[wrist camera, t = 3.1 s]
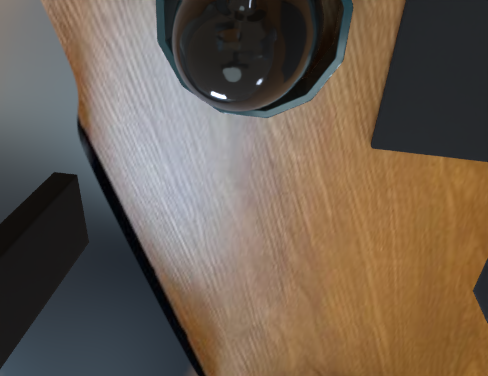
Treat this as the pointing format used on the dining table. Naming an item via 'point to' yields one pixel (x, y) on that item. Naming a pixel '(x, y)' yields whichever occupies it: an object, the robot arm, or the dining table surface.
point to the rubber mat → (438, 82)
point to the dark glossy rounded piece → (245, 48)
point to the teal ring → (302, 90)
